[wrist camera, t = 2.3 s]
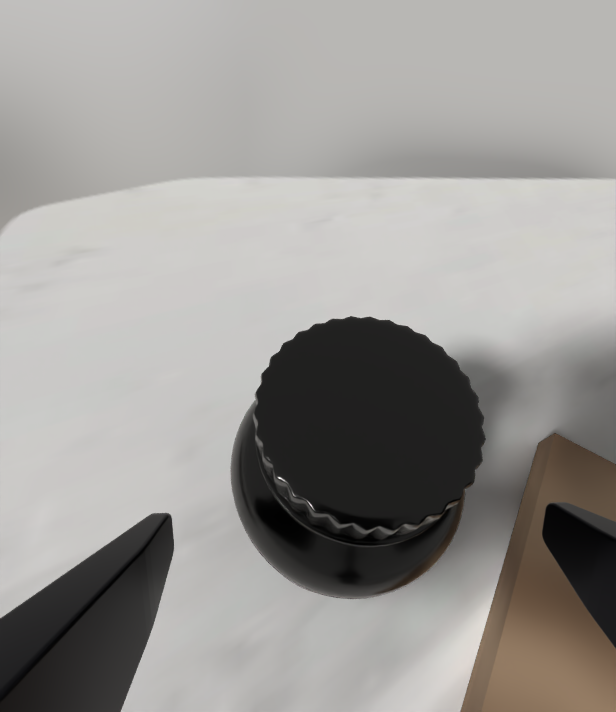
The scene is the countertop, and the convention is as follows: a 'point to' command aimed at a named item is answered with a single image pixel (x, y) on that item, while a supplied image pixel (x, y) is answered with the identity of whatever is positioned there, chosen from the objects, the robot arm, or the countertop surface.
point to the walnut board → (546, 602)
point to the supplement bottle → (356, 457)
